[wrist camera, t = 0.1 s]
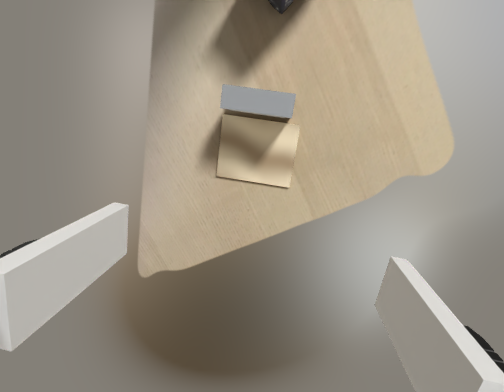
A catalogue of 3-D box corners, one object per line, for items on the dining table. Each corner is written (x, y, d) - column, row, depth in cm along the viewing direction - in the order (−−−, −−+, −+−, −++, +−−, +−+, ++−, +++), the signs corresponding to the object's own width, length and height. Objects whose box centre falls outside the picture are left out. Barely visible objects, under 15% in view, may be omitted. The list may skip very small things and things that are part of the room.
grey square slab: (236, 91, 39) (222, 84, 31) (293, 99, 39) (295, 94, 30) (234, 110, 40) (220, 108, 32) (290, 118, 40) (291, 119, 31)
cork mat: (223, 114, 40) (222, 114, 40) (300, 125, 40) (300, 125, 39) (217, 175, 43) (216, 175, 43) (289, 187, 42) (289, 187, 42)
